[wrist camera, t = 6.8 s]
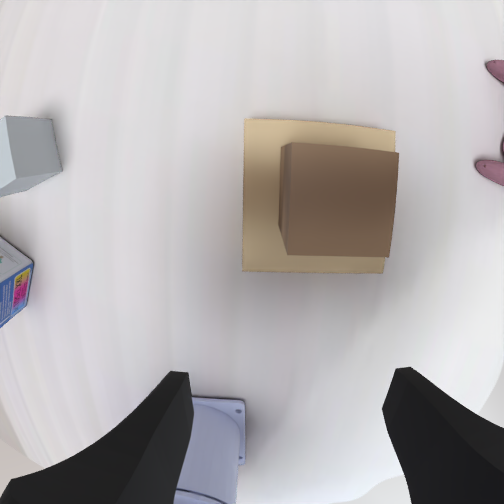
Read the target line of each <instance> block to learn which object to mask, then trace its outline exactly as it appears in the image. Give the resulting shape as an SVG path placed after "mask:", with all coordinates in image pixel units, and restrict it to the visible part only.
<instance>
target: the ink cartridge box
mask: <svg viewBox="0 0 504 504" xmlns="http://www.w3.org/2000/svg"><path fill="white" fill-rule="evenodd" d="M32 269H33V262H32V260H30V259H29V258H28V257H26V256H25V255H23V254H22V253H21V252H19V251H18V250H17V249H15V248H14V247H13V246H11V245H10V244H9V243H7V242H6V241H5V240H4V239H2V238H1V237H0V328H1V327H2V326H3V325H4V324H6V323H7V322H8V321H9V320H10V319H11V318H13V317H14V316H15V315H16V314H17V313H19V312H20V311H21V310H22V309H23V308H24V307H25V306H26V303H27V297H28V291H29V285H30V280H31V274H32Z"/></svg>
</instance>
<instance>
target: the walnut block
mask: <svg viewBox="0 0 504 504" xmlns="http://www.w3.org/2000/svg"><path fill="white" fill-rule="evenodd" d="M398 163H399V153H397V152H390V151H382V150H374V149H366V148H357V147H348V146H337V145H325V144H312V143H296V142H291V143H289V144H287V145H284V146H282V147H281V158H280V191H279V218H278V226H279V229H280V232H281V236H282V239H283V242H284V246H285V249H286V253H287V255H299V256H345V257H389V253H390V246H391V239H392V231H393V223H394V214H395V204H396V193H397V180H398Z"/></svg>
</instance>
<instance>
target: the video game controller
mask: <svg viewBox="0 0 504 504" xmlns="http://www.w3.org/2000/svg"><path fill="white" fill-rule="evenodd" d="M487 68H488V70H489V71H490V72H491V74H492V75H493V76H495V77H496V78H497V79H499V80H500V81H502V82H504V61H503V60H492V61H489V62H488V64H487ZM503 151H504V143H503ZM476 168H477V170H478V171H479V172H480V173H481V174H482V175H483V176H485V177H486V178H488V179H490V180H492V181H494V182H496V183H498V184H500V185H502V186H504V163H501V162H497V161H494V160H482V161H479V162H477V164H476Z"/></svg>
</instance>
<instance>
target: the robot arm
mask: <svg viewBox="0 0 504 504" xmlns="http://www.w3.org/2000/svg"><path fill="white" fill-rule="evenodd" d="M237 409H240V410H237ZM382 411H383V415H384V420H385V424H386V427H387V431H388V434H389V437H390V439H391V442H392V444H393V447H394V449H395V452H396V454H397V457H398V460H399V462H400V465H401V467H402V470H403V473H404V475H405V478H406V481H407V485H408V489H409V494H410V498H411V503H412V504H504V428H502V427H500V426H498V425H495V424H493V423H491V422H490V421H488V420H486V419H484V418H482V417H480V416H479V415H477V414H475V413H474V412H472V411H470V410H469V409H467V408H466V407H464V406H463V405H461V404H460V403H458V402H457V401H456V400H454V399H453V398H451V397H450V396H449V395H447V394H446V393H445V392H443V391H442V390H441V389H439V388H438V387H437V386H435V385H434V384H433V383H432V382H430V381H429V380H428V379H426V378H425V377H424V376H422V375H421V374H420V373H418V372H417V371H416V370H414V369H413V368H411V367H405V368H397V369H395V373H394V376H393V379H392V382H391V385H390V388H389V390H388V393H387V396H386V399H385V401H384V404H383V407H382ZM244 464H245V403H244V402H243V401H241V400H226V399H209V398H195V397H192V395H191V388H190V382H189V374H188V372H176V371H170V372H169V373H168V374H167V375H166V376H165V377H164V379H163V380H162V381H161V382H160V383H159V384H158V385H157V387H156V388H155V389H154V390H153V391H152V392H151V393H150V394H149V395H148V396H147V397H146V399H145V400H144V401H143V402H142V403H141V404H140V405H139V406H138V407H137V408H136V409H135V410H134V411H133V412H132V413H131V414H129V415H128V416H127V417H126V418H125V419H124V420H123V421H122V422H121V423H119V424H118V425H117V426H116V427H115V428H114V429H112V430H111V431H110V432H109V433H107V434H106V435H105V436H103V437H102V438H101V439H99V440H98V441H96V442H95V443H93V444H92V445H90V446H89V447H87V448H86V449H84V450H82V451H81V452H79V453H77V454H75V455H74V456H72V457H70V458H68V459H66V460H64V461H62V462H60V463H58V464H55V465H53V466H51V467H48V468H46V469H44V470H41V471H38V472H35V473H32V474H28V475H25V476H22V477H18V478H14V479H11V481H10V482H9V484H8V485H7V487H6V489H5V490H4V492H3V494H2V496H1V498H0V504H236V495H237V479H238V465H244Z"/></svg>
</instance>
